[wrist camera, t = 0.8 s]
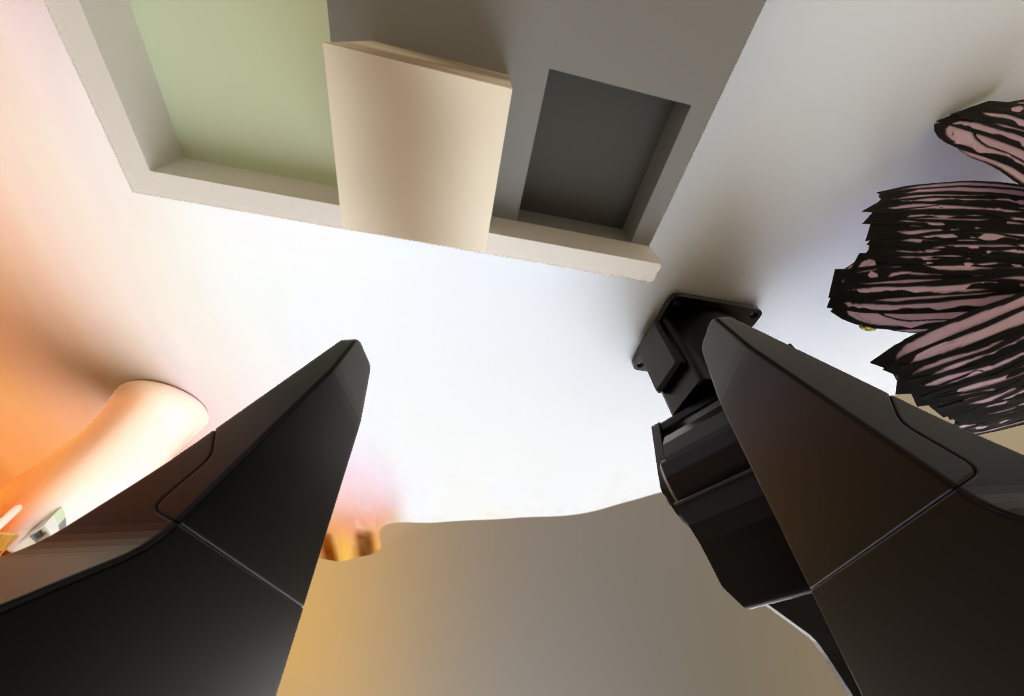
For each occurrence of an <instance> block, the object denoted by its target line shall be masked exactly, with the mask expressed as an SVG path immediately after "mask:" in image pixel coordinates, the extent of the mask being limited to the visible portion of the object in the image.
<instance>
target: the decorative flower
mask: <svg viewBox="0 0 1024 696" xmlns="http://www.w3.org/2000/svg"><path fill="white" fill-rule="evenodd" d="M937 122H940V123H936V124H934V131H935V133H936V134H937V136H938V137H939V138H940V139H941V140H943V141H944V142H946V143H948V144H950V145H952V146H954V147H956V148H958V149H959V150H960V151H961V152H963V153H964V154H966V155H967V156H969V157H971V158H973V159H976V160H979V161H982V162H984V163H987V164H989V165H990V166H992V167H994V168H996V169H998V170H1000V171H1001V172H1003V173H1004V174H1005V175H1007V176H1008V177H1009V178H1011V179H1012V180H1014V181H1015V182H1016V183H1018V184H1011V183H1003V182H986V181H956V182H943V183H931V184H919V185H911V186H904V187H899V188H895V189H890V190H886V191H881V192H877V193H878V194H880V195H879V197H880V198H881V200H880V201H879V202H877V203H876V204H874V205H872V206H870V207H869V208H867V209H865V210H863V211H862V212H872V214H871V215H870V216H869V217H868V218H867V219H866V220H865V221H864V222H863V223H862V224H871V225H870V228H869V231H868V235H867V238H866V241H869V240H870V241H869V242H868V244H867V245H869V250H868V251H867V253H859V255H858V257H857V258H856V260H855V262H854V263H852V264H851V265H849V266H848V267H847V268H845V269H835V272H834V276H833V280H832V284H831V289H830V293H829V297H828V298H830V300H829V303H828V306H827V308H833V309H832V310H831V312H832V313H834V314H835V315H837V316H838V317H840V318H841V319H843V320H846V321H849V322H851V323H854V324H857V325H859V327H860V328H861V329H863V330H866V331H868V330H869V331H871V330H875V329H877V328H878V329H889V330H893V331H900V332H908V333H916V334H914V335H912V336H910V337H908V338H906V339H904V340H903V341H902V342H900V343H898V344H896V345H894V346H893V347H891V348H890V349H888V350H887V351H885V352H884V353H883V354H881V355H880V356H878V357H877V358H875V359H874V360H873V361H871V362H870V363H872V364H875V365H878V366H880V367H883V368H884V369H883V370H885V371H887V372H890V373H892V374H894V376H895V378H896V380H897V386H896V394H912V396H913V398H914V401H915V403H916V405H917V406H926V405H929V406H930V407H931V408H932V409H934V410H935V411H936V412H937V413H939V414H940V415H941V416H942V417H946V416H948V418H949V419H950V420H951V419H954V420H955V424H954V425H956V426H958V427H960V428H963V429H965V430H967V431H969V432H972V433H974V434H976V435H981V434H985V433H989V432H995V431H999V430H1003V429H1008V428H1011V427H1016V426H1020V425H1023V424H1024V100H1019V101H1013V102H999V101H987V102H984V103H981V104H978V105H975V106H973V107H970V108H967V109H964V110H961V111H958V112H955V113H952V115H951V116H948V117H946V118H943V119H940V120H938V121H937ZM1019 184H1020V185H1019Z"/></svg>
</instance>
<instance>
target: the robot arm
mask: <svg viewBox="0 0 1024 696" xmlns="http://www.w3.org/2000/svg"><path fill="white" fill-rule="evenodd" d="M676 300H678V301H677V302H676V303H674V301H676ZM752 313H753V314H752ZM761 315H762V311H761V310H760V309H759V308H758V307H757V306H753V305H747V304H741V303H735V302H729V301H723V300H718V299H712V298H706V297H700V296H694V295H688V294H682V293H674V294H672V295H670V296H669V298H668V299H667V301H666V303H665V304H664V306H663V308H662V310H661V311H660V313H659V315H658V317H657V318H656V320H655V321H654V322H653V323H652V325H651V327H650V329H649V331H648V332H647V334H646V336H645V338H644V339H643V341H642V343H641V345H640V346H639V348H638V352H637V353H636V355H635V357H634V359H633V360H632V365H633V367H634V369H636V370H641V371H648V373H649V376H650V378H651V380H652V382H653V385H654V387H655V389H656V391H657V392H658V393H662V394H663V396H664V399H665V401H666V403H667V405H668V407H669V409H670V412H671V414H672V417H670V418H668V419H667V420H665V421H663V422H662V423H660V422H659V423H657V424H655V425H654V426H652V434H653V441H654V448H655V455H656V462H657V469H658V476H659V481H660V488H661V491H662V492H663V494H664V495H665V496H666V499H667V501H668V503H669V504H670V506H672V508H673V509H674V511H675V512H676V513H677V515H678V516H679V517H680V518H681V519H682V521H683V522H684V523H685V524H686V525H687V526H689V527H690V528H691V530H692V532H693V533H694V535H695V536H696V538H697V539H698V541H699V543H700V544H701V546H702V548H703V550H704V552H705V554H706V555H707V557H708V560H709V561H710V563H711V565H712V567H713V569H714V571H715V573H716V575H717V577H718V579H719V581H720V583H721V585H722V587H723V588H724V589H725V590H726V591H727V592H728V593H729V594H730V595H732V596H733V597H734V598H735V599H736V600H737V601H738V602H739V603H740V604H741V605H742V606H743V607H745V608H747V609H752V608H757V607H760V606H767V607H768V608H770V609H771V610H772V611H774V612H775V613H776V614H778V615H779V616H781V617H782V618H783V619H785V620H786V621H787V622H789V623H790V624H791V625H793V626H794V627H796V628H797V629H798V630H800V631H801V632H803V633H804V634H805V635H807V636H808V637H809V638H810V639H811V640H812V641H813V643H814V644H815V646H816V647H817V648H818V650H819V651H820V653H821V654H822V656H823V657H824V659H825V660H826V662H827V663H828V664H829V666H830V668H831V670H832V671H833V673H834V674H835V676H836V677H837V679H838V680H839V682H840V683H841V685H842V686H843V688H844V690H845V691H846V693H847V694H848V696H1024V455H1022V454H1020V453H1017V452H1015V451H1013V450H1011V449H1008V448H1006V447H1004V446H1001V445H999V444H996V443H994V442H992V441H990V440H987V439H985V438H983V437H981V436H978V435H976V434H974V433H972V432H969V431H967V430H965V429H963V428H960V427H958V426H956V425H954V424H951V423H949V422H947V421H945V420H943V419H940V418H938V417H936V416H934V415H932V414H930V413H928V412H926V411H923V410H921V409H919V408H917V407H915V406H913V405H911V404H909V403H907V402H905V401H903V400H901V399H898V398H897V397H894V396H889V394H888V393H886V392H884V391H882V390H880V389H878V388H876V387H874V386H872V385H870V384H867V383H865V382H863V381H861V380H859V379H857V378H855V377H853V376H851V375H849V374H847V373H845V372H843V371H841V370H839V369H837V368H835V367H832V366H830V365H828V364H826V363H824V362H822V361H820V360H818V359H816V358H814V357H812V356H810V355H808V354H806V353H804V352H802V351H800V350H797V349H795V348H794V347H793V346H792V345H791V344H788V345H787V344H785V343H783V342H781V341H779V340H777V339H775V338H773V337H771V336H769V335H767V334H765V333H763V332H760V331H758V330H756V329H754V328H752V327H753V325H754V324H755V323H756V322H757V320H758V319H759V318H760V316H761ZM638 363H640V364H638ZM369 374H370V364H369V361H368V359H367V356H366V354H365V352H364V350H363V347H362V345H361V343H360V342H359V341H358V340H356V339H351V340H341V341H339V342H338V343H337V344H335V345H334V346H332V347H331V348H330V349H328V350H327V351H325V352H324V353H322V354H321V355H320V356H318V357H317V358H315V359H314V360H313V361H311V362H310V363H308V364H307V365H305V366H304V367H303V368H301V369H300V370H298V371H297V372H296V373H294V374H293V375H291V376H290V377H288V378H287V379H286V380H284V381H283V382H281V383H280V384H279V385H277V386H276V387H274V388H273V389H271V390H270V391H269V392H267V393H266V394H264V395H263V396H262V397H260V398H259V399H257V400H256V401H254V402H253V403H252V404H250V405H249V406H247V407H246V408H245V409H243V410H242V411H240V412H239V413H237V414H236V415H235V416H233V417H232V418H230V419H229V420H228V421H226V422H225V423H223V424H222V425H220V426H219V427H218V428H216V431H212V432H210V433H209V434H208V435H206V436H205V437H203V438H202V439H201V440H199V441H198V442H196V443H195V444H193V445H192V446H191V447H189V448H188V449H186V450H185V451H183V452H182V453H180V454H179V455H177V456H176V457H174V458H173V459H172V460H170V461H168V462H167V463H165V464H164V465H162V466H161V467H159V468H158V469H156V470H155V471H153V472H151V473H150V474H148V475H147V476H145V477H144V478H142V479H141V480H139V481H137V482H136V483H134V484H133V485H131V486H130V487H128V488H126V489H125V490H123V491H122V492H120V493H118V494H117V495H115V496H114V497H112V498H110V499H109V500H107V501H106V502H104V503H103V504H101V505H99V506H98V507H96V508H95V509H93V510H91V511H90V512H88V513H87V514H85V515H84V516H82V517H80V518H79V519H77V520H76V521H74V522H72V523H71V524H69V525H68V526H66V527H64V528H63V529H61V530H59V531H58V532H56V533H54V534H53V535H51V536H49V537H47V538H45V539H43V540H41V541H39V542H37V543H35V544H32V545H30V546H28V547H26V548H23V549H21V550H18V551H16V552H13V553H10V554H8V555H5V556H2V557H0V696H276V694H277V691H278V688H279V684H280V681H281V678H282V674H283V672H284V668H285V665H286V661H287V658H288V655H289V652H290V649H291V646H292V643H293V639H294V636H295V633H296V630H297V626H298V623H299V620H300V617H301V613H302V610H303V608H302V607H303V605H304V603H305V599H306V596H307V593H308V590H309V587H310V584H311V580H312V577H313V574H314V571H315V567H316V564H317V561H318V558H319V555H320V551H321V548H322V545H323V542H324V538H325V535H326V532H327V529H328V526H329V522H330V519H331V516H332V513H333V509H334V506H335V503H336V500H337V497H338V493H339V490H340V487H341V484H342V480H343V477H344V474H345V471H346V467H347V464H348V461H349V458H350V455H351V451H352V448H353V445H354V442H355V438H356V435H357V432H358V429H359V425H360V422H361V417H362V412H363V407H364V401H365V396H366V390H367V385H368V379H369Z"/></svg>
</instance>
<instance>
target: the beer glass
mask: <svg viewBox="0 0 1024 696" xmlns="http://www.w3.org/2000/svg"><path fill="white" fill-rule="evenodd" d="M208 419H209V415H208V412H207V410H206V408H205V407H204V406H203V405H202V404H201V403H200V402H199V401H198V400H197V399H196V398H194V397H193V396H191V395H190V394H188V393H186V392H184V391H182V390H180V389H178V388H176V387H173V386H170V385H167V384H164V383H160V382H155V381H148V380H135V381H129V382H125V383H123V384H121V385H120V386H119V387H117V389H116V390H115V391H114V392H113V394H112V395H111V396H110V398H109V399H108V401H107V402H106V404H105V405H104V407H103V408H102V409H101V411H100V412H99V413H98V414H97V416H96V417H95V418H94V419H93V420H92V421H91V422H90V423H89V424H88V425H87V426H86V427H85V428H84V429H82V430H81V431H80V432H79V433H78V434H77V435H75V436H74V437H73V438H72V439H70V440H69V441H67V442H66V443H65V444H63V445H62V446H60V447H59V448H58V449H56V450H55V451H53V452H52V453H51V454H49V455H48V456H46V457H45V458H43V459H42V460H40V461H39V462H37V463H36V464H34V465H33V466H32V467H30V468H29V469H27V470H26V471H24V472H23V473H21V474H20V475H19V476H17V477H16V478H14V479H13V480H11V481H10V482H9V483H7V484H6V485H4V486H3V487H1V488H0V557H2V556H5V555H8V554H10V553H13V552H16V551H18V550H21V549H23V548H26V547H28V546H30V545H32V544H35V543H37V542H39V541H41V540H43V539H45V538H47V537H49V536H51V535H53V534H54V533H56V532H58V531H59V530H61V529H63V528H64V527H66V526H68V525H69V524H71V523H72V522H74V521H76V520H77V519H79V518H80V517H82V516H84V515H85V514H87V513H88V512H90V511H91V510H93V509H95V508H96V507H98V506H99V505H101V504H103V503H104V502H106V501H107V500H109V499H110V498H112V497H114V496H115V495H117V494H118V493H120V492H122V491H123V490H125V489H126V488H128V487H130V486H131V485H133V484H134V483H136V482H137V481H139V480H141V479H142V478H144V477H145V476H147V475H148V474H150V473H151V472H153V471H155V470H156V469H158V468H159V467H161V466H162V465H164V464H165V463H167V462H168V461H170V460H172V459H173V457H174V456H175V455H176V454H177V452H178V451H179V450H180V449H181V448H182V447H183V446H184V445H185V444H186V443H187V442H188V441H189V440H190V439H191V438H193V437H194V436H195V435H196V434H197V433H198V432H199V431H200V430H201V429H202V428H203V427H204V426H205V425H206V424H207V422H208Z"/></svg>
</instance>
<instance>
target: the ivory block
mask: <svg viewBox="0 0 1024 696" xmlns="http://www.w3.org/2000/svg"><path fill="white" fill-rule="evenodd" d="M323 51H324V61H325V70H326V80H327V89H328V99H329V108H330V118H331V127H332V136H333V146H334V155H335V165H336V174H337V184H338V193H339V203H340V212H341V222H342V228H345V229H351V230H357V231H362V232H368V233H374V234H380V235H385V236H391V237H397V238H403V239H409V240H414V241H420V242H426V243H432V244H437V245H443V246H449V247H455V248H460V249H466V250H472V251H478V252H483V253H485V251H486V245H487V239H488V233H489V227H490V221H491V215H492V209H493V203H494V197H495V191H496V185H497V179H498V173H499V167H500V161H501V155H502V149H503V143H504V137H505V131H506V125H507V119H508V113H509V107H510V101H511V95H512V86H511V82H510V79H509V75H507V74H503V73H499V72H495V71H491V70H487V69H483V68H479V67H475V66H471V65H467V64H463V63H459V62H455V61H451V60H447V59H444V58H440V57H436V56H432V55H428V54H424V53H420V52H416V51H412V50H408V49H404V48H400V47H396V46H392V45H388V44H384V43H380V42H376V41H349V42H323Z"/></svg>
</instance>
